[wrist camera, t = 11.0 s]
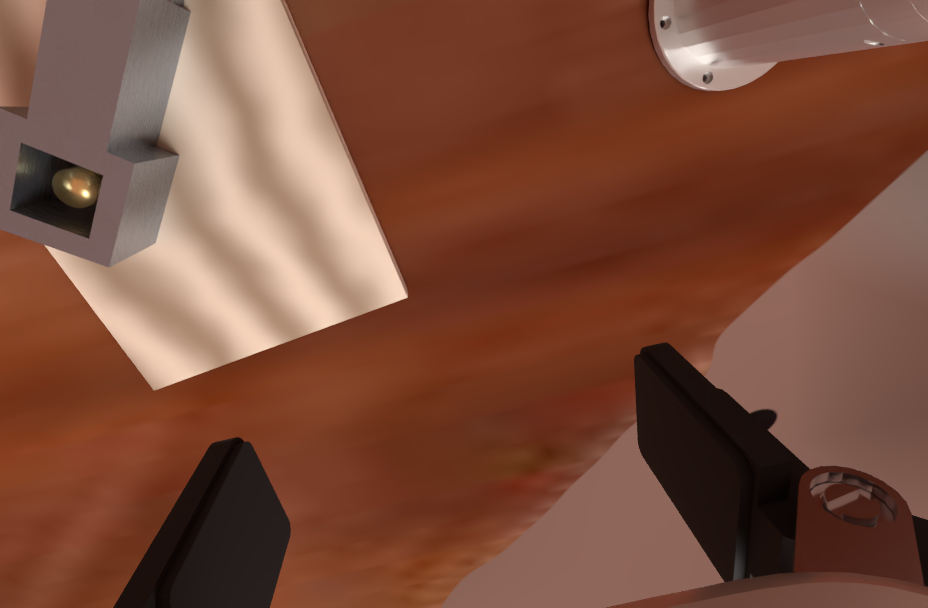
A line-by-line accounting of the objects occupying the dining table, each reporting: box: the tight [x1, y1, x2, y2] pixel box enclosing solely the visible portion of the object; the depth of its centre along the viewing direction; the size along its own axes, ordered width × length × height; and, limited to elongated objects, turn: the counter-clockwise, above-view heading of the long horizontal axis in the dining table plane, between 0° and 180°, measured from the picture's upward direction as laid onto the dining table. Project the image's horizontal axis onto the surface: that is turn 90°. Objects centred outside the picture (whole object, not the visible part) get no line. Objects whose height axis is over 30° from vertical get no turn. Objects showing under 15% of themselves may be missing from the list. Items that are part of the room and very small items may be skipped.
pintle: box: [52, 167, 103, 208], centre depth 32 cm, size 2×2×6 cm
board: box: [0, 0, 408, 390], centre depth 33 cm, size 23×32×2 cm
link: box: [0, 0, 191, 268], centre depth 28 cm, size 20×7×6 cm, turn 154°
